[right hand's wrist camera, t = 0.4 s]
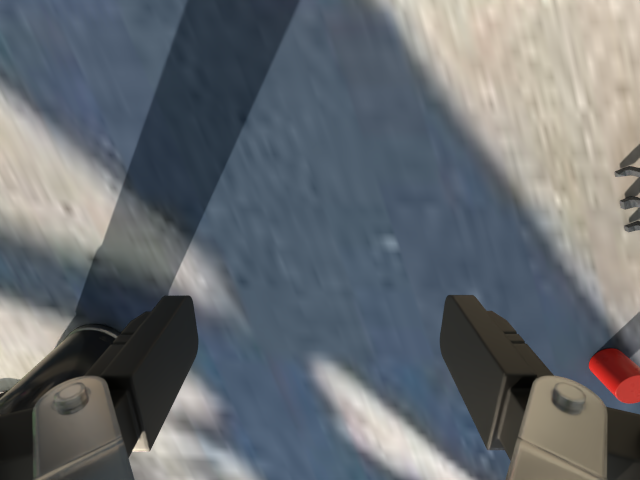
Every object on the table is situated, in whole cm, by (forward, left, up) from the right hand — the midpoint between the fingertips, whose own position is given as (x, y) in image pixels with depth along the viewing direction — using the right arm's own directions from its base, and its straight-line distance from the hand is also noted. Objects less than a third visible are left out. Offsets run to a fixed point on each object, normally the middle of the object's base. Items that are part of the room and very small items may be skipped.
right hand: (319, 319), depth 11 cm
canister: (+13, -43, -29) cm, 54 cm away
